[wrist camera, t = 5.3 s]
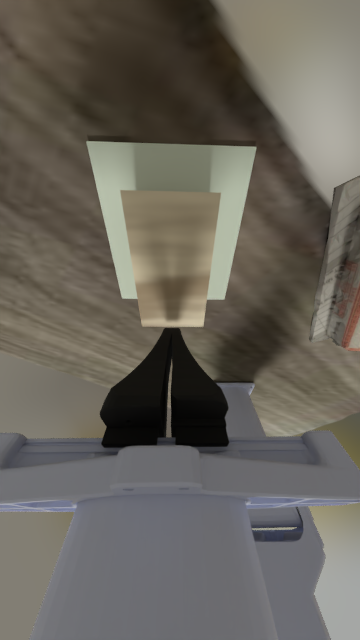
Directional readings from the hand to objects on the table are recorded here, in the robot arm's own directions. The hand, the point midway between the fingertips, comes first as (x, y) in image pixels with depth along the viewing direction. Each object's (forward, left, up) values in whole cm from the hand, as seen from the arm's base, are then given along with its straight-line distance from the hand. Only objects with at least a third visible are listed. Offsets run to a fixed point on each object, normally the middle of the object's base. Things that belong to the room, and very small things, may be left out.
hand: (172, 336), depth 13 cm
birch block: (0, 0, -4) cm, 4 cm away
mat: (+7, 0, -6) cm, 9 cm away
